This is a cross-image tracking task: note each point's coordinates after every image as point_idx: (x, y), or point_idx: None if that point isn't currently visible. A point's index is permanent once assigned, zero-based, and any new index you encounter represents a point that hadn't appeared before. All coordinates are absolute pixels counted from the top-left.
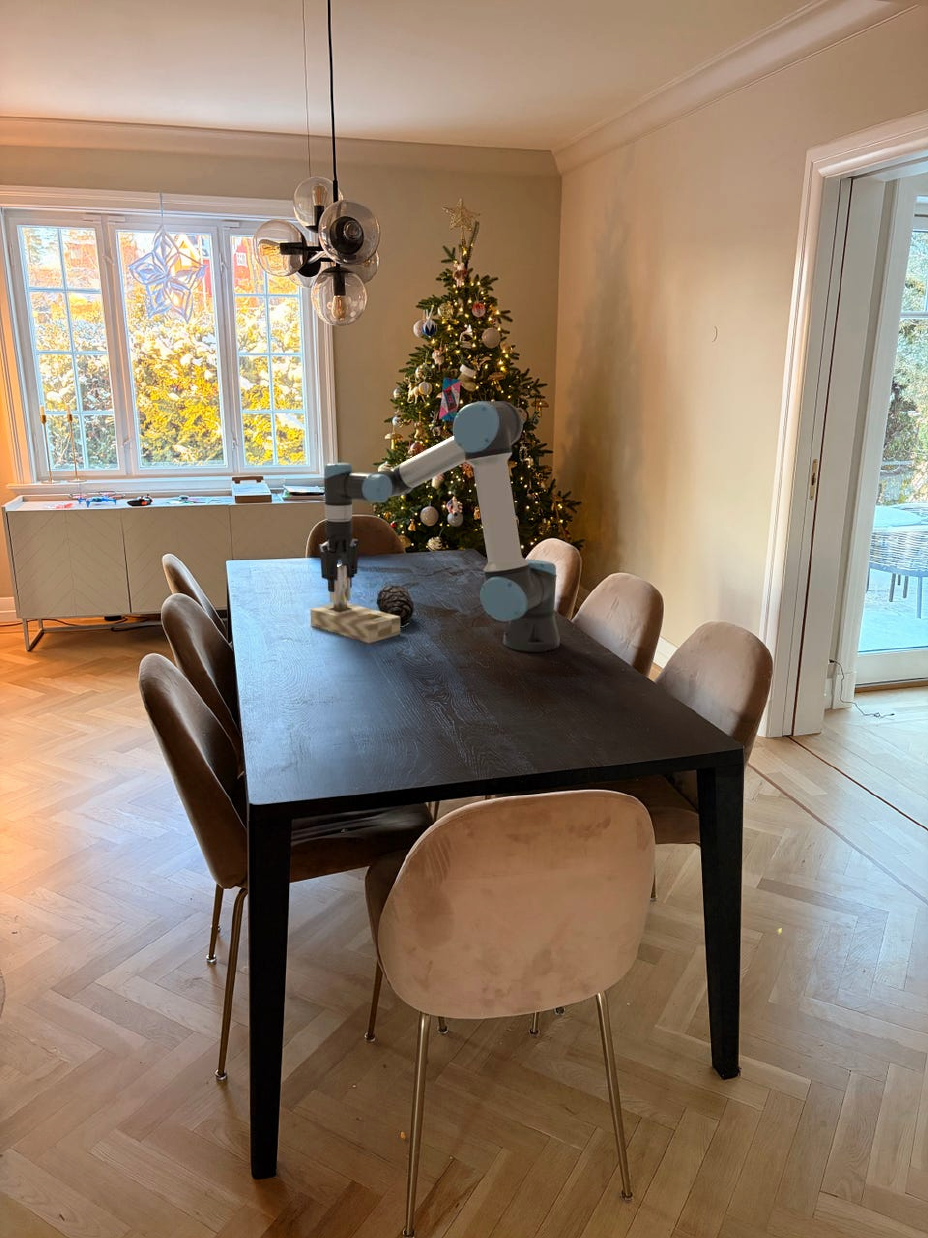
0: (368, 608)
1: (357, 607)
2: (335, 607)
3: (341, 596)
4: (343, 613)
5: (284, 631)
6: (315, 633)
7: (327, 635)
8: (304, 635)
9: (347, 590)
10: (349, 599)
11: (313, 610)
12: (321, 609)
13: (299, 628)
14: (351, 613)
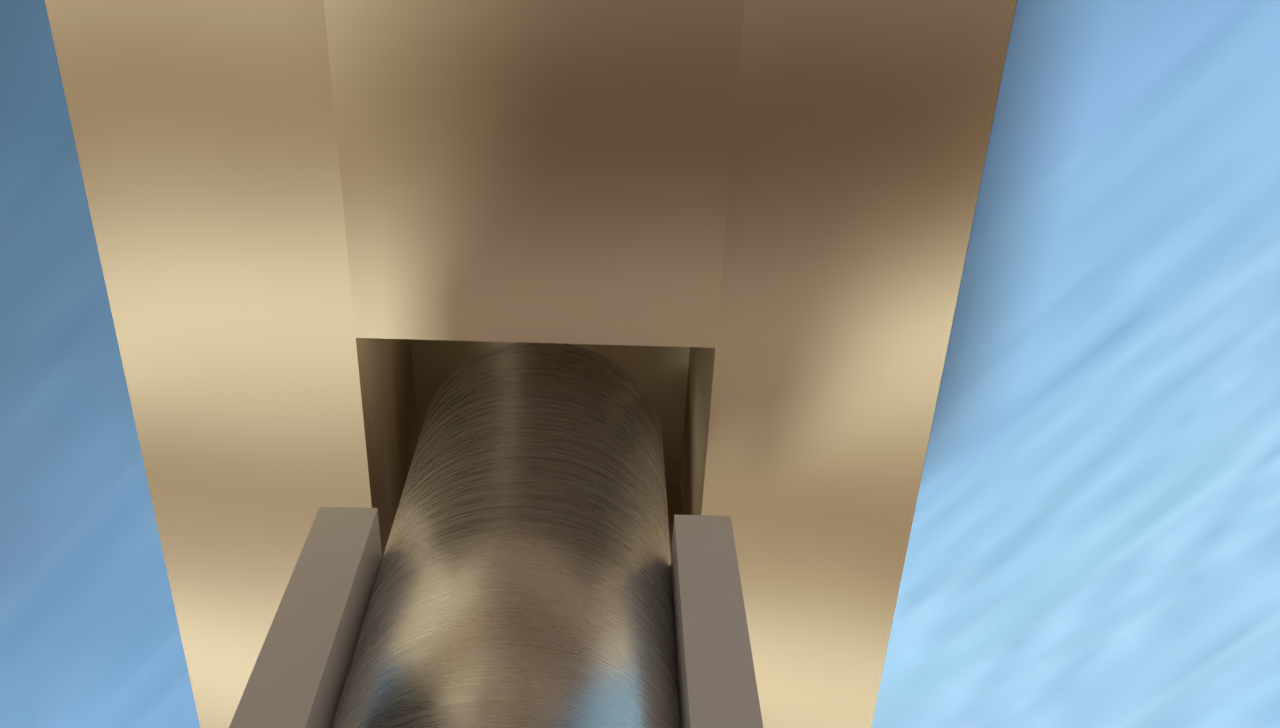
0: (79, 152)
1: (222, 362)
2: (667, 518)
3: (606, 579)
4: (727, 243)
5: (1178, 627)
6: (1053, 328)
7: (1045, 136)
8: (1210, 362)
9: (328, 696)
10: (342, 522)
11: (870, 706)
12: (777, 658)
13: (980, 603)
14: (621, 125)
